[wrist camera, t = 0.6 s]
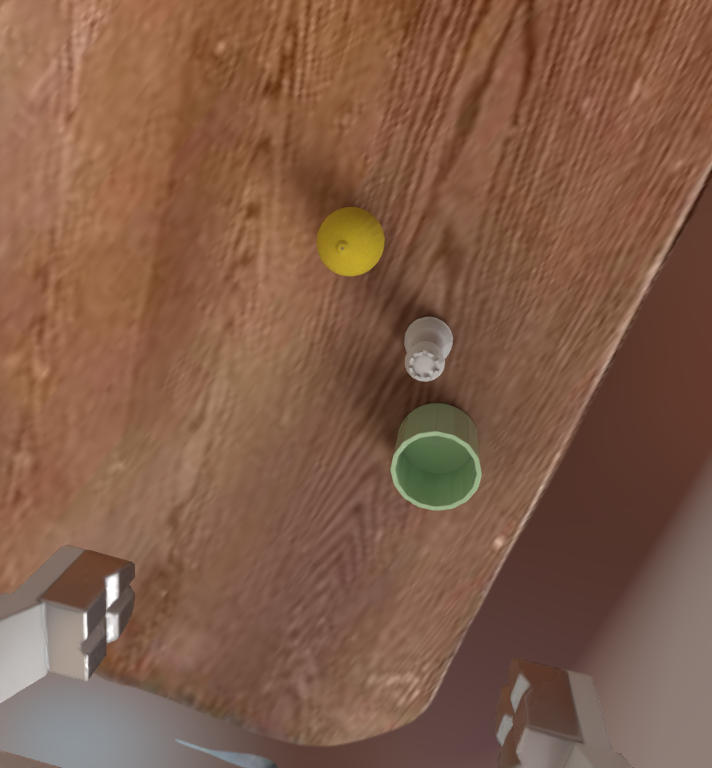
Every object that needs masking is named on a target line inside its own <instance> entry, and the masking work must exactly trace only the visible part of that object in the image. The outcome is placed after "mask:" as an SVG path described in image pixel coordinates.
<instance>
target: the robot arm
mask: <svg viewBox="0 0 712 768" xmlns="http://www.w3.org/2000/svg"><path fill="white" fill-rule="evenodd" d="M134 577H135V564H133V563H132V562H131V561H127V560H123V559H120V558H116V557H113V556H109V555H105V554H102V553H98V552H95V551H91V550H85V549H82V548H78V547H75V546H71V545H66V546H63V547H61V548H59V549H58V550H57V551H56V552H55V553H54V554H53V555H52V556H51V557H50V558H49V559H48V560H47V561H46V562H45V563H44V564H43V565H42V566H41V567H40V568H39V569H37V570H36V571H35V572H34V573H33V574H32V575H31V576H30V577H29V578H28V579H27V580H26V581H25V582H24V583H23V584H22V585H21V586H20V587H19V588H18V589H17V590H16V591H14V592H13V593H12V594H9V593H3V594H0V703H1V702H3V701H4V700H6V699H8V698H9V697H11V696H13V695H14V694H16V693H17V692H19V691H21V690H22V689H24V688H26V687H27V686H29V685H30V684H32V683H34V682H35V681H37V680H39V679H40V678H42V677H43V676H45V675H46V674H47V672H50V673H54V674H58V675H63V676H67V677H71V678H75V679H79V680H83V681H88V680H89V678H90V677H91V675H92V674H93V673H94V671H95V670H96V669H97V667H98V666H99V664H100V663H101V662H102V660H103V659H104V658H105V656H106V644H108V643H110V642H112V641H114V640H116V639H118V638H119V637H120V635H121V634H122V632H123V631H124V629H125V628H126V626H127V624H128V621H129V619H130V617H131V615H132V611H133V606H134V599H135V593H134V591H133V590H132V588H131V587H130V585H129V584H130V583H131V581H132V580H133V579H134ZM508 680H509V683H508V684H506V685H505V686H503V687H502V689H501V692H500V695H499V698H498V703H497V709H496V722H495V724H496V725H495V727H496V738H497V740H498V741H499V743H500V744H501V746H502V749H501V752H500V755H499V757H498V768H633V767H632V766H631V765H630V764H629V762H628V761H627V760H626V759H625V758H624V756H623V755H622V754H620V753H617V752H613V748H612V745H611V741H610V738H609V734H608V730H607V727H606V723H605V720H604V716H603V712H602V709H601V705H600V702H599V698H598V694H597V691H596V687H595V683H594V680H593V679H592V677H591V676H590V675H587V674H583V673H578V672H574V671H570V670H566V669H564V670H563V669H561V668H557V667H552V666H548V665H544V664H540V663H536V662H531V661H528V660H524V659H519V658H515V657H514V659H513V660H512V661H511V663H510V666H509V669H508ZM0 768H60V767H57V766H53V765H50V764H47V763H43V762H40V761H36V760H33V759H29V758H25V757H22V756H19V755H15V754H12V753H8V752H5V751H2V750H0Z"/></svg>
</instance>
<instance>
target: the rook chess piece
mask: <svg viewBox="0 0 712 768" xmlns="http://www.w3.org/2000/svg"><path fill="white" fill-rule="evenodd" d="M452 342H453V337H452V333H451V330H450V328H449V327H448V326H447V325H446V323H445V322H443V321H441V320H439V319H438V318H435V317H423V318H420V319H417V320H415V321H414V322H413V323H412V324H410V325H409V327H408V329H407V331H406V333H405V341H404V345H405V348H406V351H407V355H406V357H405V367H406V370H407V372H408V373H409V374H410V375H411V377H413V378H414V379H416V380H418V381H426V382H427V381H431V380H434V379H436V378H437V377H438V376H440V375H441V373H442V371H443V370H444V365H445V360H444V359H445V358H446V357H447V356H448V354H449V352H450V350H451V348H452Z"/></svg>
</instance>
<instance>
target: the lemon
mask: <svg viewBox="0 0 712 768" xmlns="http://www.w3.org/2000/svg"><path fill="white" fill-rule="evenodd" d="M384 241H385V238H384V233H383V229H382V227H381V225H380V223H379V221H378V220H377V219H376V218H375V216H374V215H372V214H371V213H370V212H368V211H366V210H364V209H361V208H358V207H345V208H341V209H338V210H336V211H334V212H332V213H331V214H330V215H329V216H328V217H326V219H325V220H324V221H323V223H322V224H321V226H320V229H319V231H318V235H317V250H318V253H319V256H320V258H321V260H322V261H323V263H324V264H325V265H326V266H327V267H328V268H329V269H330V270H331V271H333V272H335V273H337V274H340V275H343V276H356V275H360V274H363V273H365V272H367V271H369V270H370V269H372V268H373V267H374V266H375V265H376V264H377V262H378V261H379V259H380V257H381V256H382V253H383V249H384Z"/></svg>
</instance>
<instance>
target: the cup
mask: <svg viewBox="0 0 712 768" xmlns="http://www.w3.org/2000/svg"><path fill="white" fill-rule="evenodd" d="M391 474H392V478H393V483H394V485H395V487H396V488H397V489H398V491H399V492H400V493H401V495H402V496H403V497H404V498H405V499H407V500H408V501H410V502H411V503H413V504H414V505H416V506H418V507H421V508H426V509H430V510H435V511H436V510H445V509H453V508H455V507H457V506H459V505H461V504H463V503H465V502H467V501H468V500H469V498H470V497H471V496H472V495H473V494H474V493H475V491H476V490H477V489H478V486H479V482H480V479H481V475H482V471H481V458H480V445H479V439H478V433H477V429H476V427H475V425H474V423H473V421H472V420H471V419H470V417H469V416H468V415H467V414H466V413H464V412H463V411H462V410H460V409H458V408H456V407H454V406H452V405H448V404H443V403H431V404H426V405H423V406H420V407H418V408H416V409H414V410H413V411H411V412H410V413H409V414H408V415H407V416H406V417H405V419H404V420H403V422H402V423H401V426H400V427H399V432H398V436H397V441H396V446H395V450H394V455H393V459H392V464H391Z"/></svg>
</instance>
